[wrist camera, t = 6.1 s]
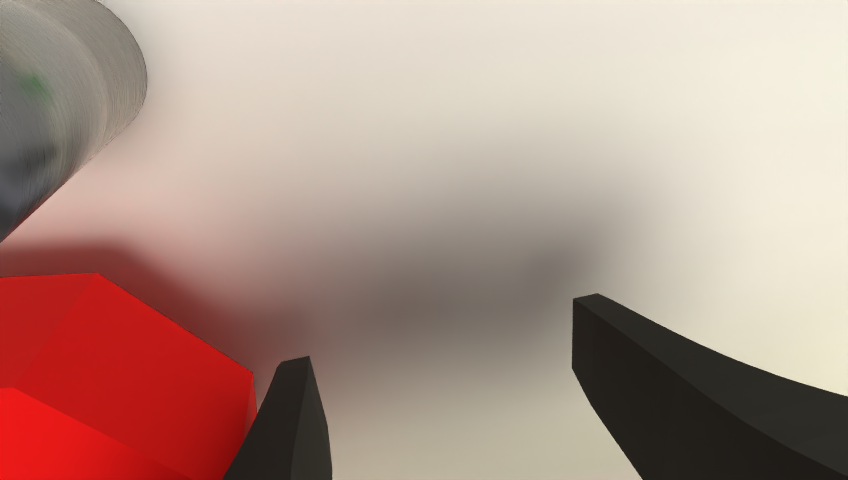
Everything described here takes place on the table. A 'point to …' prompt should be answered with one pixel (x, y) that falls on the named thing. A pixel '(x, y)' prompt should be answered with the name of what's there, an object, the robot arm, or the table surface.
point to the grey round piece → (60, 95)
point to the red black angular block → (111, 387)
